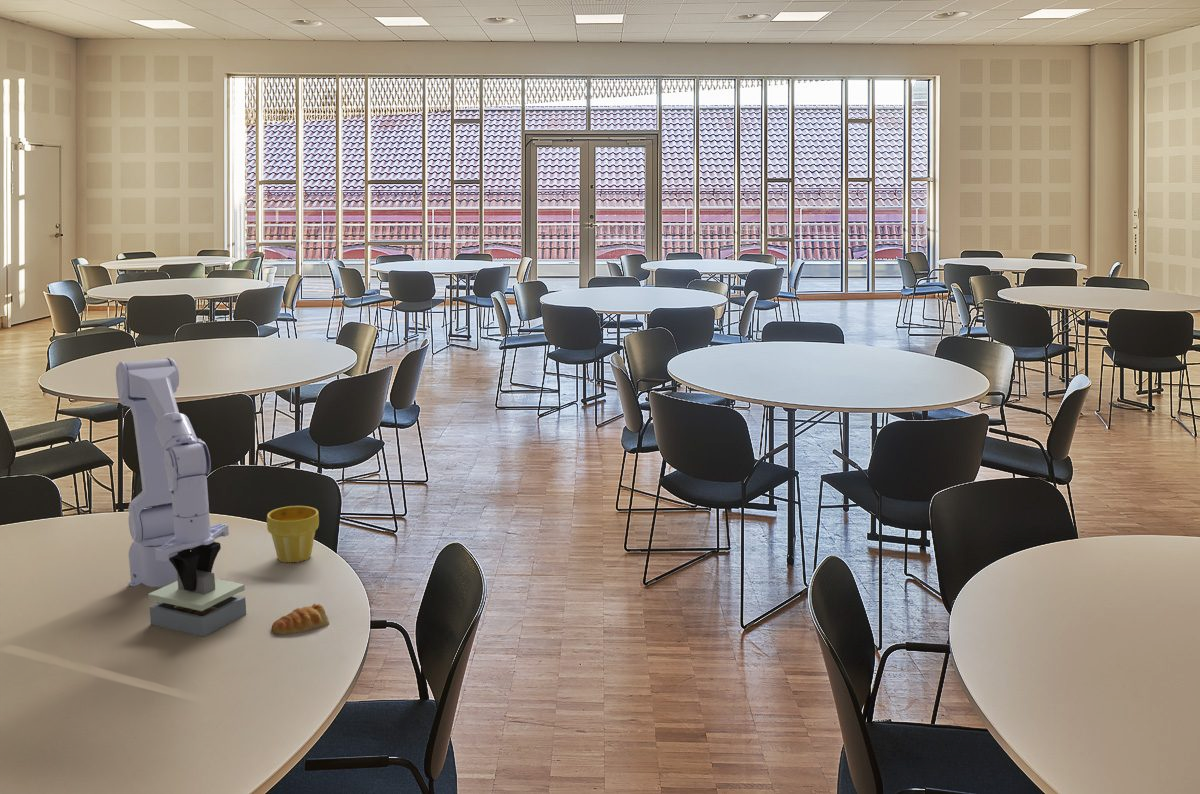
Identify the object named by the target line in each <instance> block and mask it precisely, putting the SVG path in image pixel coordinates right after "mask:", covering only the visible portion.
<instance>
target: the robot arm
mask: <svg viewBox="0 0 1200 794" xmlns="http://www.w3.org/2000/svg"><path fill="white" fill-rule="evenodd" d="M115 380H116V388H117V397H118V400H119V403H120V404H121V405H123V406H125V407H129V409H130V412H131V414H132V417H133V424H134V434H135V439H136V441H135V442H136V447H137V448H136V450H137V455H138V456H137V457H138V463H139V464H138V465H139V471H140V472H139V473H140V481H141V489H142V490H141V492H139V493H138V494H137V495H136V496H135V497H134V498H133V499H132V500H131V501H130V502H129V504H128V508H127V509H128V528H129V533H130V537H131V539H132V543H131V545H130V547H129V549H128V563H129V564H128V565H129V573H130V574H129V575H130V581H129V582H127V586H128V585H130V586H129V587H133V586H134V587H136V586H138V585H140V584H143V585H145V586H146V587H151V588H162V587H165V586H167V585H169V584H171V583H174V582H176V581H178V579H177V573H178V575H179V577H180V579H181V582H182V584H183V587H184V590H188V591H195V590H196V584H197V581H196V570H201V571H206V572H211V573H213V567H214V564H215V560H216V559H217V556H218V554H219V553H220V551H221V550H222V549H221V547H222V546H221V543H220V542H217V541H215V539H219V538H221V537H227V536H229V533H230V532H229V525H228V524H225V523H218V524H214V525H211V521H210V520H211V519H210V518H211V517H210V509H209V508H210V506H209V492H208V479H207V475H209V474H210V473H211V469H212V467H211V465H212V463H211V455H210V451H209V448H208V445H207V444H206V442H205V441H204V440H202V439H201V438H198V437H197V435H196V432H195V430H194V428H193V425H192V423H191V421H190V419H189V417H188V416H187V415H186V414H185V413H181V412H179V411H180V410H179V407H178V404H177V400H176V397H175V393H176V392H177V390H178V387H179V385H180V372H179V368H178V365H177V362H176V361H175V360H174V359H173V358H171V357H167V358H159V359H149V360H147V359H146V360H136V361H135V360H133V361H119V362H118V364H117V365H116V367H115Z"/></svg>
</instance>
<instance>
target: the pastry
mask: <svg viewBox="0 0 1200 794" xmlns="http://www.w3.org/2000/svg"><path fill="white" fill-rule="evenodd" d="M328 625H330V621H329V617H328V615H327V613H326V610H325V608H324V607H323V605H322V604H320V603H319V604H318V603H313V604H312V605H311V606H303V607H299V608H298V607H297V608H295V609H293V610H292V611H291V612H289V613H287V614H286V615H283V616H281V617H280V618H279V619H277V620H274V622H273V623H272V625H271V629H270V631H271V632H272V633H273V634H276V635H289V634H297V633H305V632H308V631H311V630H314V629H319V628H321V627H322V628H323V627H327V626H328Z"/></svg>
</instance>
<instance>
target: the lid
mask: <svg viewBox="0 0 1200 794" xmlns="http://www.w3.org/2000/svg"><path fill="white" fill-rule="evenodd" d="M215 577H216V576H215V573H214V572H206V571H201V570H196V581H197V584H196V590H195V591H188V590H184V587H183V584H182V582H181V579H180V577H179V575H178V573H177V579H178V581H176V582H174V583H171V584H169V585H167V586H164V587H159V588H158V589H157V590H153V591H151V592H149V593H148V594H147V596H148V597H147V598H148V600H151V601H155V602H157V603H159V602H163V603H167V604H172V605H176V606H181V607H185V608H190V609H194V610H199V611H203V610H205V609H207V608H209V607H211V606H213V605H215V604H217V603H219V602H221V601H223V600H225V599H227V598H229V597H231V596H233V595H237V594H239V593H240V592H243V591H245V590H246V589H245V584H243V583H239V582H233V581H228V580H223V579H219V578H215Z"/></svg>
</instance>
